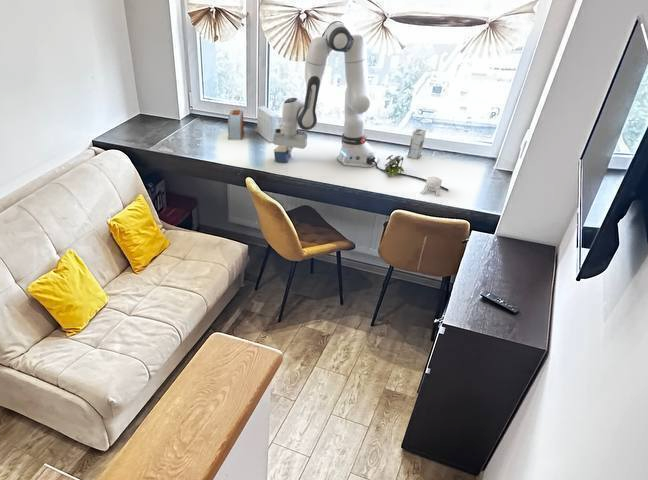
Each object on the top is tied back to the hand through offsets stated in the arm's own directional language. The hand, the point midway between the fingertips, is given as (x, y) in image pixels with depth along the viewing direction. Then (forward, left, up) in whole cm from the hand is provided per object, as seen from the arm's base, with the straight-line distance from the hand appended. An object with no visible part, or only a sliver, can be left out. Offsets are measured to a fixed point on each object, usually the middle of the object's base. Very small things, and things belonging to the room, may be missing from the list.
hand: (289, 153), depth 312 cm
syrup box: (-63, -35, -5) cm, 72 cm away
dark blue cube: (+4, 0, -4) cm, 6 cm away
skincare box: (+29, -29, -5) cm, 41 cm away
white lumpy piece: (-83, +6, -5) cm, 84 cm away
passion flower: (-59, -9, -5) cm, 60 cm away
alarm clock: (+49, -24, -5) cm, 54 cm away
